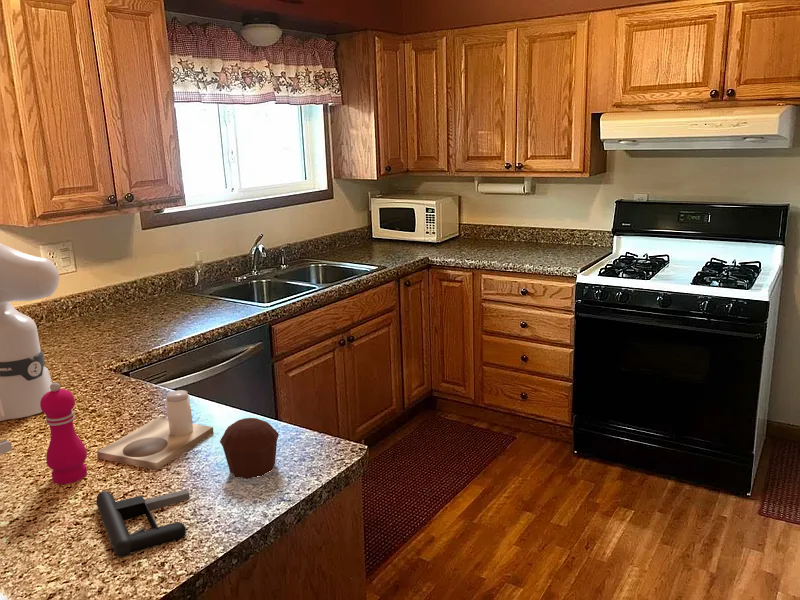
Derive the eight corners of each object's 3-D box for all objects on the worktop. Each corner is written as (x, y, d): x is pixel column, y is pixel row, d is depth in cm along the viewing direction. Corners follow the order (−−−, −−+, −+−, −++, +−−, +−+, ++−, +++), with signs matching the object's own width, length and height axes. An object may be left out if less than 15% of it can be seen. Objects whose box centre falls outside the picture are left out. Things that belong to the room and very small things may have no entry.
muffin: (293, 464, 134) (289, 419, 131) (250, 488, 125) (245, 439, 123) (254, 449, 141) (250, 406, 138) (211, 471, 132) (206, 424, 130)
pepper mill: (95, 467, 136) (81, 375, 131) (80, 485, 128) (64, 388, 124) (60, 468, 135) (44, 377, 131) (43, 486, 128) (25, 390, 124)
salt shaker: (165, 434, 146) (160, 396, 144) (180, 425, 151) (175, 388, 148) (183, 437, 144) (178, 399, 142) (198, 428, 149) (193, 391, 147)
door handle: (178, 472, 128) (87, 493, 119) (209, 520, 112) (107, 548, 103) (179, 488, 129) (89, 510, 120) (210, 537, 112) (108, 567, 104)
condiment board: (97, 458, 139) (96, 451, 139) (157, 423, 156) (157, 417, 155) (157, 469, 134) (156, 462, 133) (213, 433, 150) (212, 426, 149)
